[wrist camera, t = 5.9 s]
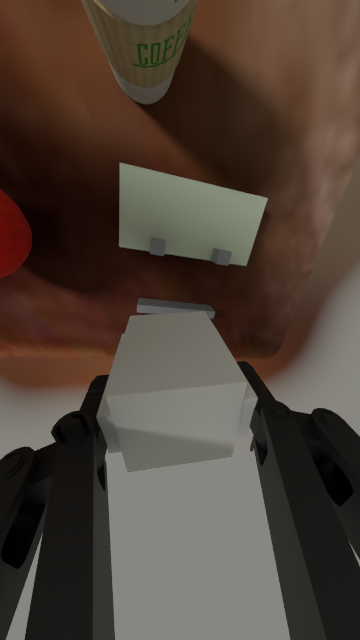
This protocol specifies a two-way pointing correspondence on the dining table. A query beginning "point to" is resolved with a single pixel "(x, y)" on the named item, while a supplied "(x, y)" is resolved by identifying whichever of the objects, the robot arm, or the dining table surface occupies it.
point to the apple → (12, 236)
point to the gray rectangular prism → (174, 392)
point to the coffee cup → (142, 41)
